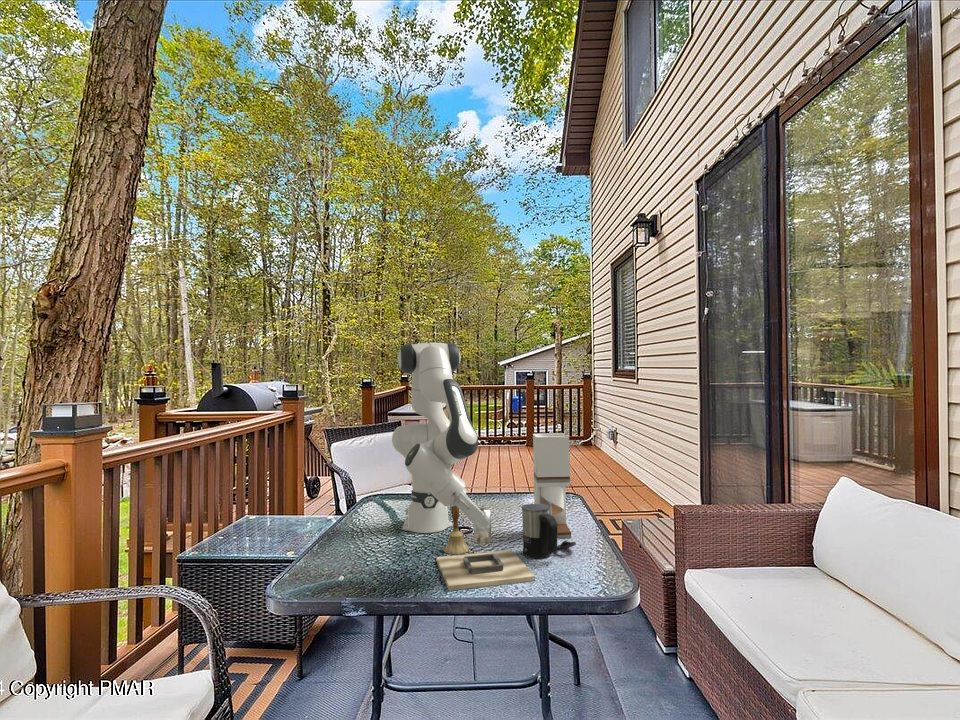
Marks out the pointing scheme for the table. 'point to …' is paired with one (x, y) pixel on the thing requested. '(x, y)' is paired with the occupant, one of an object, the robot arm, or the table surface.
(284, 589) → the table surface
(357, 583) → the table surface
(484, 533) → the sleeve
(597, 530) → the table surface
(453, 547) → the hand bell
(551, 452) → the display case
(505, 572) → the hub board
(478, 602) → the table surface
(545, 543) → the milk frother
